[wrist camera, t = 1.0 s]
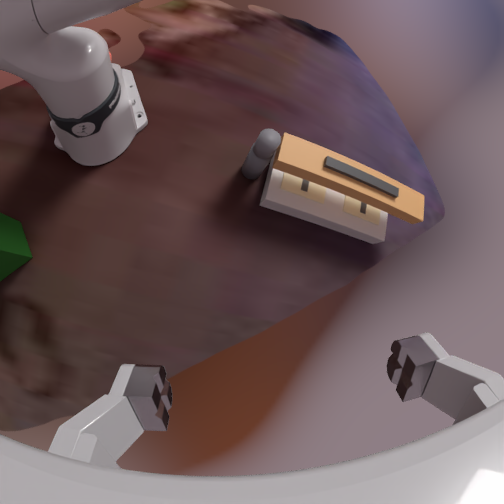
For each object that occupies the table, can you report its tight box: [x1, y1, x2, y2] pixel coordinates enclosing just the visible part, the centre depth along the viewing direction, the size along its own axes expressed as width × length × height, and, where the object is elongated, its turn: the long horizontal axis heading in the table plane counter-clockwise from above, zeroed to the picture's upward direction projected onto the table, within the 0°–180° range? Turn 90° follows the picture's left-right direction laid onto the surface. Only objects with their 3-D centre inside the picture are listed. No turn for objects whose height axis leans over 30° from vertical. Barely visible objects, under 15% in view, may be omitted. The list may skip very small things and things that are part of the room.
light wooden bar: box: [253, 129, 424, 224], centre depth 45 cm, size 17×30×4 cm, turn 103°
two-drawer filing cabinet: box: [241, 143, 388, 244], centre depth 51 cm, size 29×12×8 cm, turn 76°
